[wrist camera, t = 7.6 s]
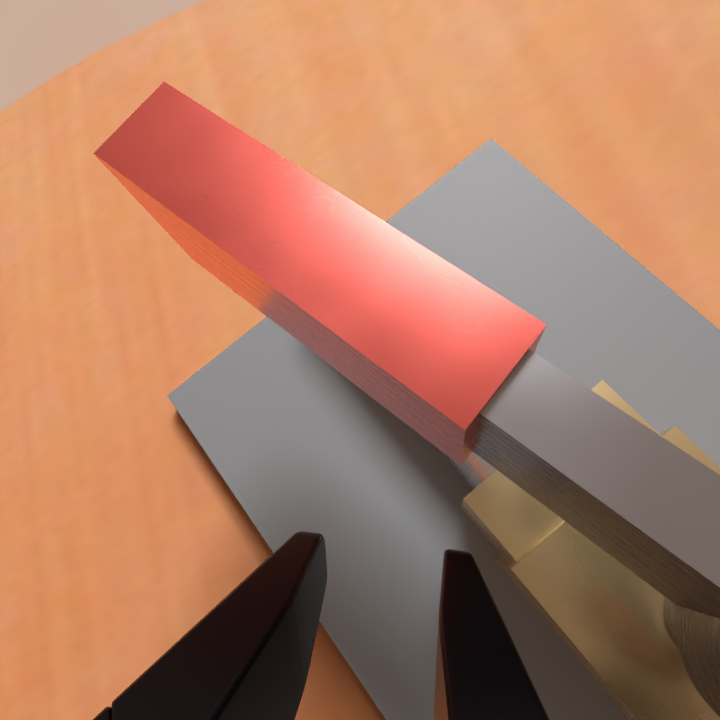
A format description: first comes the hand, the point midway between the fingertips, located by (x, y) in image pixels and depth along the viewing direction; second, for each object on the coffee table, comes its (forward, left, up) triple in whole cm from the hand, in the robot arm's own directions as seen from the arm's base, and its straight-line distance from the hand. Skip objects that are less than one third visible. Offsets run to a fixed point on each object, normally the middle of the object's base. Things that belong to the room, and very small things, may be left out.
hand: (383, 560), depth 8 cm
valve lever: (+3, +1, -1) cm, 3 cm away
